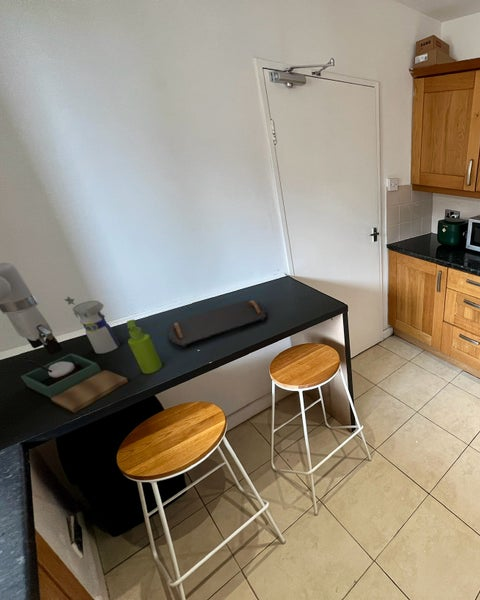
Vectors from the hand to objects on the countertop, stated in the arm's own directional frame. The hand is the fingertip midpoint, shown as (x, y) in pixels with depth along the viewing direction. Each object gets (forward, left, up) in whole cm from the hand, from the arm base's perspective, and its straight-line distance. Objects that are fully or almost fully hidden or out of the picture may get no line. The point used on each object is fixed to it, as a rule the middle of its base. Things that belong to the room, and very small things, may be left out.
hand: (48, 349), depth 103 cm
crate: (0, 0, -13) cm, 13 cm away
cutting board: (0, -15, -13) cm, 20 cm away
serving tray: (+46, -20, -13) cm, 52 cm away
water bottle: (+17, +8, -13) cm, 23 cm away
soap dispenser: (+15, -22, -13) cm, 30 cm away
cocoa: (0, 0, -13) cm, 13 cm away
